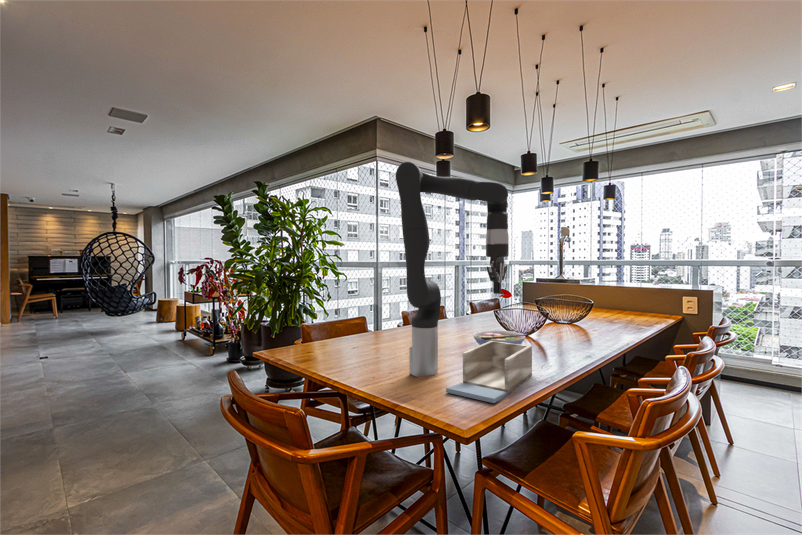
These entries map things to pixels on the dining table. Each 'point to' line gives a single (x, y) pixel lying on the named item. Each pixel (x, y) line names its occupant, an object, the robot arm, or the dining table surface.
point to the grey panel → (477, 392)
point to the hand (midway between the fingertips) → (497, 293)
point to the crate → (497, 365)
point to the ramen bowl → (498, 336)
